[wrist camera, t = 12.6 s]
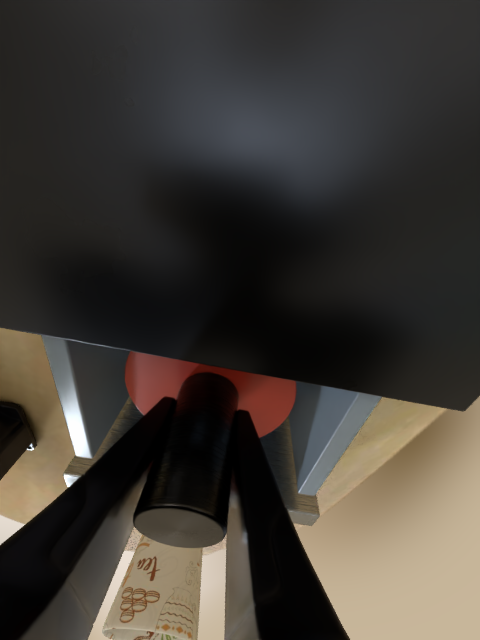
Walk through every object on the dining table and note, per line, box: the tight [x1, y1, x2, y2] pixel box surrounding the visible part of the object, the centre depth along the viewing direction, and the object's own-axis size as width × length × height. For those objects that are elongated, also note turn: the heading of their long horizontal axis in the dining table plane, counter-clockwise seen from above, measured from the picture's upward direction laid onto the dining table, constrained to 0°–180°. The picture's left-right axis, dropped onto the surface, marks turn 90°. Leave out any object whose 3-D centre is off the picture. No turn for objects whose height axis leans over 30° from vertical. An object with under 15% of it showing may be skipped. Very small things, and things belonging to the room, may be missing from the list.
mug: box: [102, 535, 203, 640], centre depth 27 cm, size 8×13×10 cm, turn 9°
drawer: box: [41, 335, 382, 526], centre depth 13 cm, size 18×12×7 cm
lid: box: [125, 351, 297, 548], centre depth 8 cm, size 7×7×5 cm
